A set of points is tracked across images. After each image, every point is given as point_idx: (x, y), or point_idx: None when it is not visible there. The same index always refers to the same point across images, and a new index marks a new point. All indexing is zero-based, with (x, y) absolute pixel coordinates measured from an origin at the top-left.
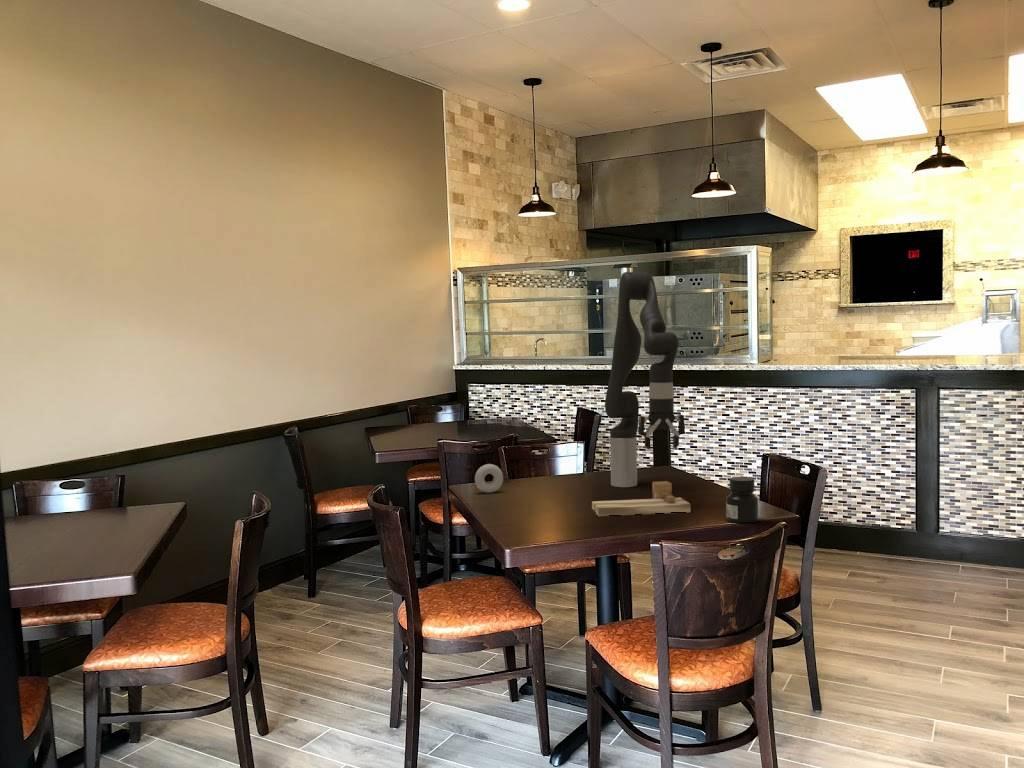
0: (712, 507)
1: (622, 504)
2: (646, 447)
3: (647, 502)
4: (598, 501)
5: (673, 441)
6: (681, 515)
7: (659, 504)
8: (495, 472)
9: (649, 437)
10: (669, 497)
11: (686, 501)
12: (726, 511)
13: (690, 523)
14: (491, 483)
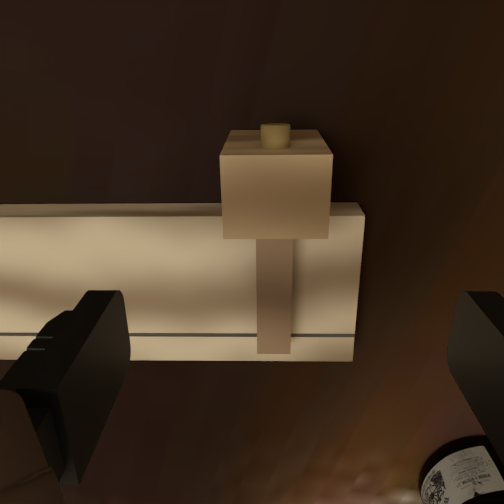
0: (485, 270)
1: (39, 311)
2: (88, 292)
3: (164, 294)
4: None
5: (492, 359)
6: (289, 378)
7: (211, 343)
8: None
9: (66, 473)
10: (261, 352)
11: (356, 309)
12: (429, 496)
13: (279, 480)
14: None
